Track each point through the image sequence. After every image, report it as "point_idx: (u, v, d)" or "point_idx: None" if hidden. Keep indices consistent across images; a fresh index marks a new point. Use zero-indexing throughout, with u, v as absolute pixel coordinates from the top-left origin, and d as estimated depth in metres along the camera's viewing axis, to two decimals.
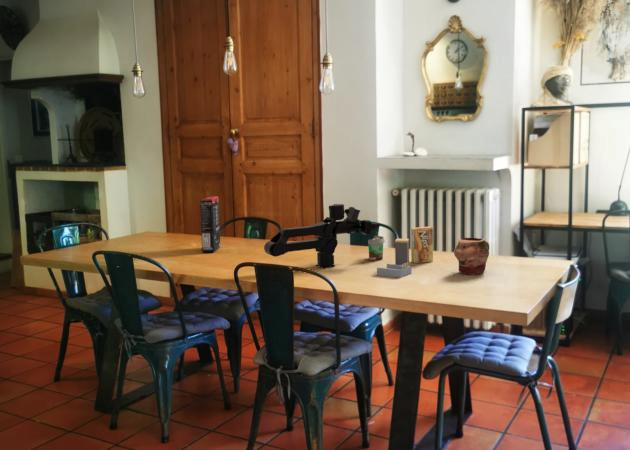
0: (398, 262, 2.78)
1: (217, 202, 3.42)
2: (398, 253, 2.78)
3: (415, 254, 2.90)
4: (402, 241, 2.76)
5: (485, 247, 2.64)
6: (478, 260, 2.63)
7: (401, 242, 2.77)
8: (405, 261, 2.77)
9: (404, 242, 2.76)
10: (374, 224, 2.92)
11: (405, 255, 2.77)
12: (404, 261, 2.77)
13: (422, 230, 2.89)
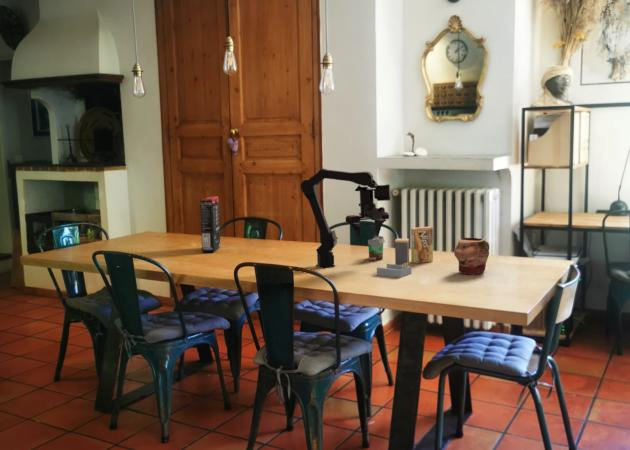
0: (398, 262, 2.78)
1: (217, 202, 3.42)
2: (398, 253, 2.78)
3: (415, 254, 2.90)
4: (402, 241, 2.76)
5: (485, 247, 2.64)
6: (478, 260, 2.63)
7: (401, 242, 2.77)
8: (405, 261, 2.77)
9: (404, 242, 2.76)
10: (357, 231, 2.81)
11: (405, 255, 2.77)
12: (404, 261, 2.77)
13: (422, 230, 2.89)
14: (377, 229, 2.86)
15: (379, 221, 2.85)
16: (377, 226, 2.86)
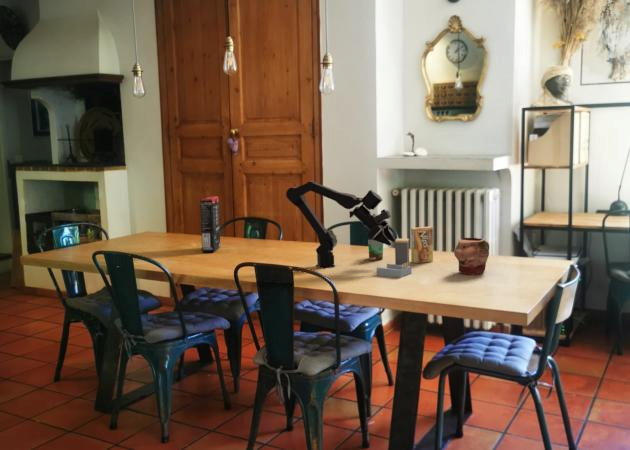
0: (398, 262, 2.78)
1: (217, 202, 3.42)
2: (398, 253, 2.78)
3: (415, 254, 2.90)
4: (402, 241, 2.76)
5: (485, 247, 2.64)
6: (478, 260, 2.63)
7: (401, 242, 2.77)
8: (405, 261, 2.77)
9: (404, 242, 2.76)
10: (385, 238, 2.75)
11: (405, 255, 2.77)
12: (404, 261, 2.77)
13: (422, 230, 2.89)
14: (390, 236, 2.85)
15: (386, 228, 2.85)
16: (387, 234, 2.85)
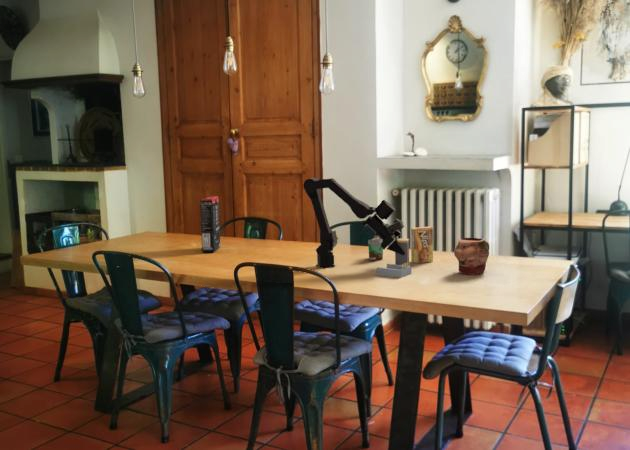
0: (398, 262, 2.78)
1: (217, 202, 3.42)
2: (398, 253, 2.78)
3: (415, 254, 2.90)
4: (402, 241, 2.76)
5: (485, 247, 2.64)
6: (478, 260, 2.63)
7: (401, 242, 2.77)
8: (405, 261, 2.77)
9: (404, 242, 2.76)
10: (399, 248, 2.76)
11: (405, 255, 2.77)
12: (404, 261, 2.77)
13: (422, 230, 2.89)
14: None
15: None
16: None
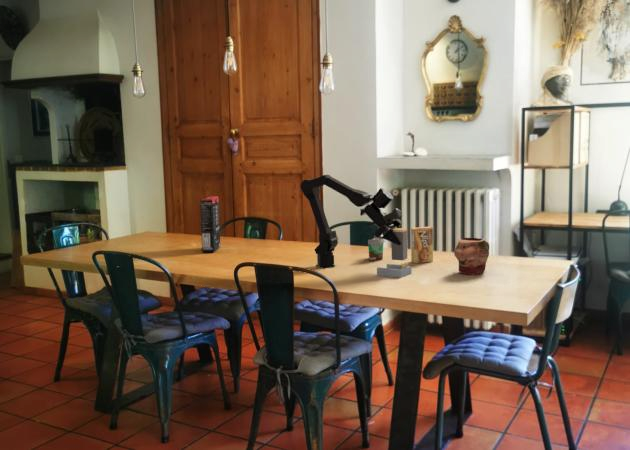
0: (394, 252, 2.72)
1: (217, 202, 3.42)
2: (394, 243, 2.71)
3: (415, 254, 2.90)
4: (398, 231, 2.70)
5: (485, 247, 2.64)
6: (478, 260, 2.63)
7: (397, 232, 2.70)
8: (401, 251, 2.70)
9: (400, 232, 2.69)
10: (394, 237, 2.69)
11: (401, 245, 2.70)
12: (400, 251, 2.71)
13: (422, 230, 2.89)
14: None
15: None
16: None
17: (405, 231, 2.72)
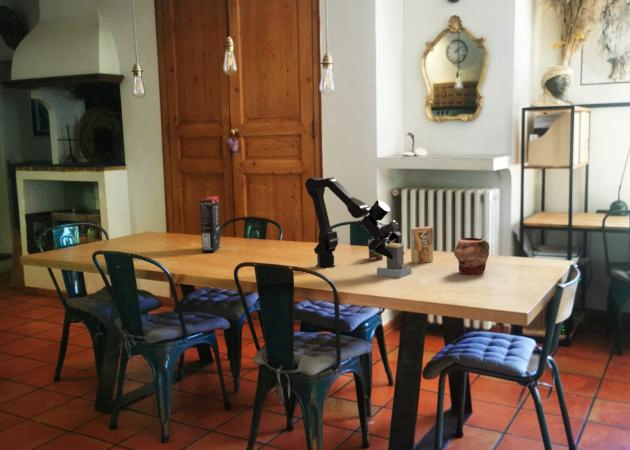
0: (389, 268, 2.68)
1: (217, 202, 3.42)
2: (389, 258, 2.68)
3: (415, 254, 2.90)
4: (393, 246, 2.66)
5: (485, 247, 2.64)
6: (478, 260, 2.63)
7: (392, 247, 2.66)
8: (396, 267, 2.66)
9: (395, 247, 2.65)
10: (386, 251, 2.64)
11: (396, 261, 2.66)
12: (395, 267, 2.67)
13: (422, 230, 2.89)
14: None
15: (396, 240, 2.73)
16: None
17: (401, 246, 2.67)
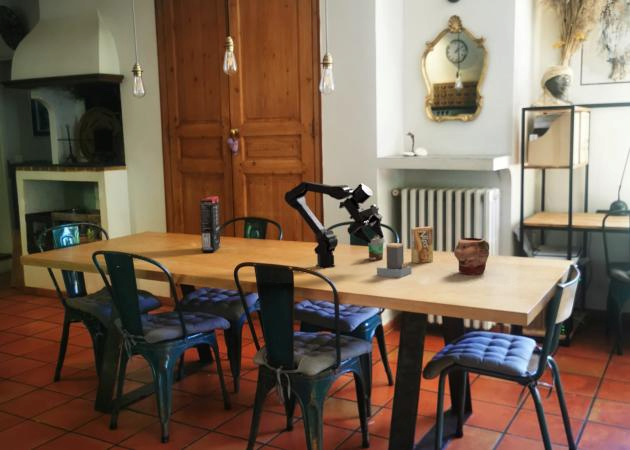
0: (389, 268, 2.68)
1: (217, 202, 3.42)
2: (389, 258, 2.68)
3: (415, 254, 2.90)
4: (393, 246, 2.66)
5: (485, 247, 2.64)
6: (478, 260, 2.63)
7: (392, 247, 2.66)
8: (396, 267, 2.66)
9: (395, 247, 2.65)
10: (365, 235, 2.71)
11: (396, 261, 2.66)
12: (395, 267, 2.67)
13: (422, 230, 2.89)
14: (379, 231, 2.79)
15: (376, 223, 2.79)
16: (377, 229, 2.79)
17: (401, 246, 2.67)
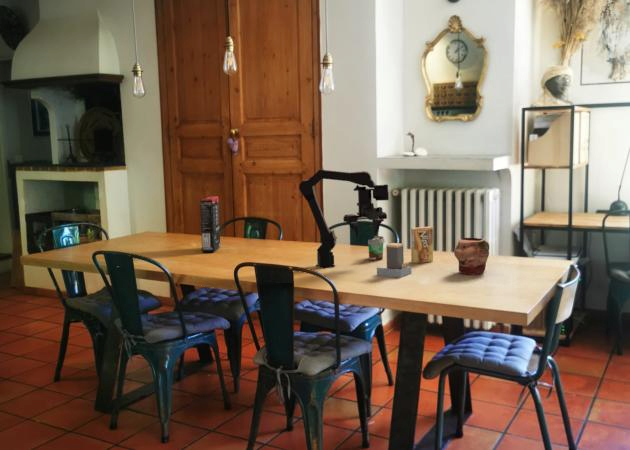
0: (389, 268, 2.68)
1: (217, 202, 3.42)
2: (389, 258, 2.68)
3: (415, 254, 2.90)
4: (393, 246, 2.66)
5: (485, 247, 2.64)
6: (478, 260, 2.63)
7: (392, 247, 2.66)
8: (396, 267, 2.66)
9: (395, 247, 2.65)
10: (354, 230, 2.83)
11: (396, 261, 2.66)
12: (395, 267, 2.67)
13: (422, 230, 2.89)
14: (375, 229, 2.87)
15: (377, 221, 2.86)
16: (375, 226, 2.88)
17: (401, 246, 2.67)
